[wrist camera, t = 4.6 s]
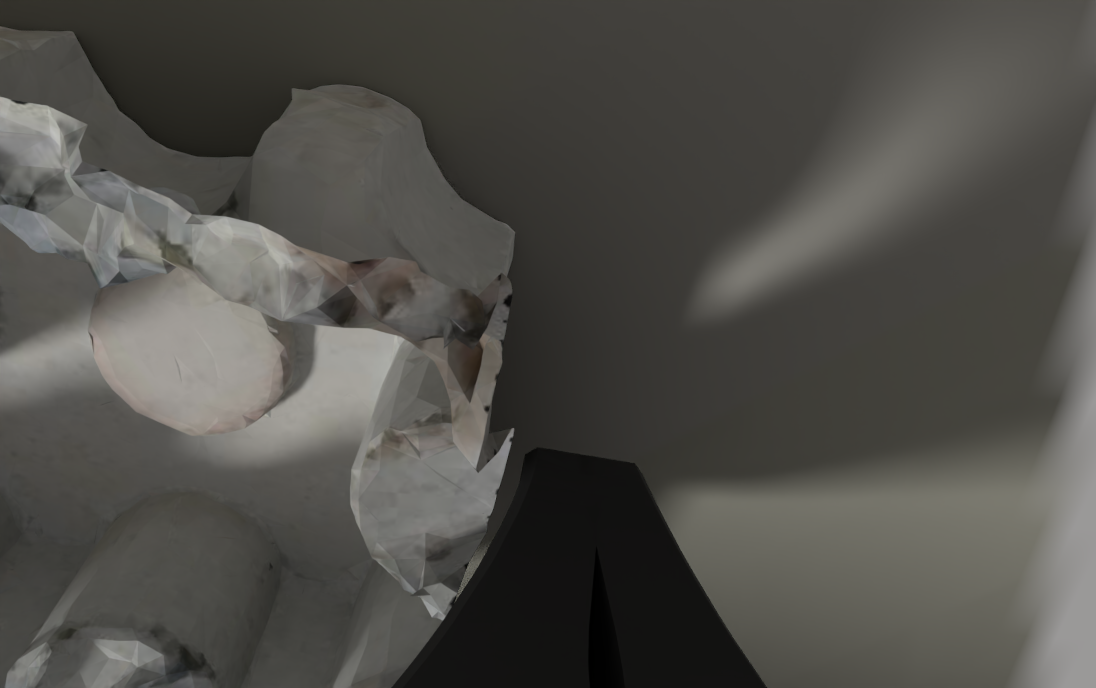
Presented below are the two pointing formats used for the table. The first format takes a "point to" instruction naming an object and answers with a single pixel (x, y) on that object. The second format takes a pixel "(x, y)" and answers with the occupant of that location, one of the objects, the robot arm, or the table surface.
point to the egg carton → (235, 390)
